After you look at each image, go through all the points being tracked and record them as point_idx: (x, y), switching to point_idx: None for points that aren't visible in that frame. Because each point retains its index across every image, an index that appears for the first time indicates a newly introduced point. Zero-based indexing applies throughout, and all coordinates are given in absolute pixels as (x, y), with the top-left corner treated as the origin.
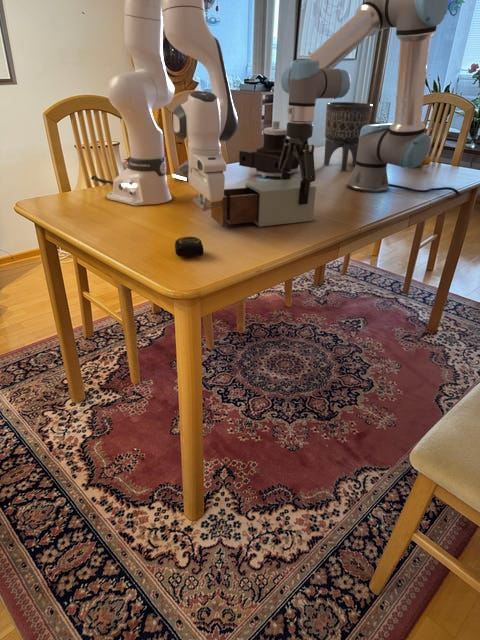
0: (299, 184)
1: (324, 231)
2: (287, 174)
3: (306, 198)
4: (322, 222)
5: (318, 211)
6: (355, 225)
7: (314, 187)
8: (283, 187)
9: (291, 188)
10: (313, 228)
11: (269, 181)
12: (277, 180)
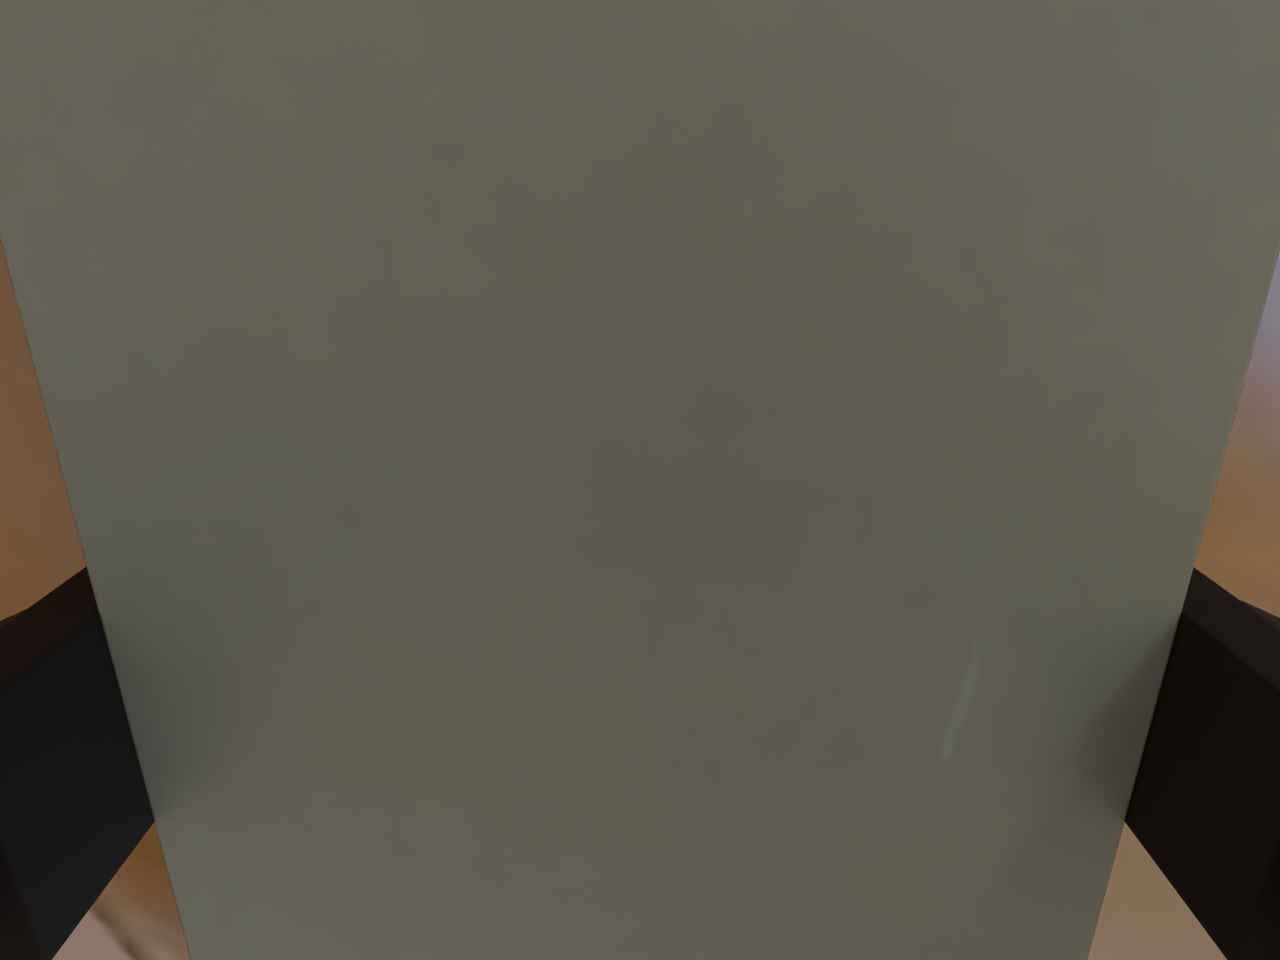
0: (495, 776)
1: (18, 532)
2: (1241, 853)
3: None
4: None
5: None
6: (176, 907)
7: (196, 953)
8: (224, 146)
9: (61, 351)
10: None
11: (1207, 54)
12: (1175, 418)
